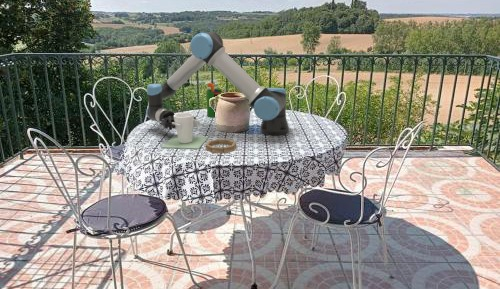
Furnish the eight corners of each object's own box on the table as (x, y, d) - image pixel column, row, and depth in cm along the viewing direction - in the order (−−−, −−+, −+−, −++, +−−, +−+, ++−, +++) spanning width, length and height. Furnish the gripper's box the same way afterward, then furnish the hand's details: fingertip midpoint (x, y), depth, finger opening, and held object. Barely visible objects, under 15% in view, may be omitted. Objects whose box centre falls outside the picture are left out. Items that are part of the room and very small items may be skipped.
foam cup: (186, 145, 184) (184, 118, 180) (171, 142, 189) (169, 116, 185) (199, 139, 192) (197, 114, 188) (184, 137, 197) (183, 111, 193)
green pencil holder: (219, 118, 236) (217, 84, 229) (205, 117, 237) (203, 84, 231) (223, 114, 245) (222, 82, 239) (210, 113, 247) (208, 81, 241)
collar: (237, 144, 188) (237, 139, 187) (232, 153, 175) (232, 148, 174) (210, 143, 190) (210, 138, 189) (203, 152, 177) (203, 147, 176)
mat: (208, 137, 198) (208, 136, 198) (198, 149, 181) (198, 148, 181) (174, 136, 201) (174, 135, 200) (161, 147, 184) (161, 146, 184)
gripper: (184, 120, 209) (209, 128, 193) (146, 128, 195) (169, 138, 179) (184, 106, 207) (208, 113, 190) (144, 113, 193) (167, 122, 177)
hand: (189, 125), depth 185 cm, fingers open, 10 cm apart
